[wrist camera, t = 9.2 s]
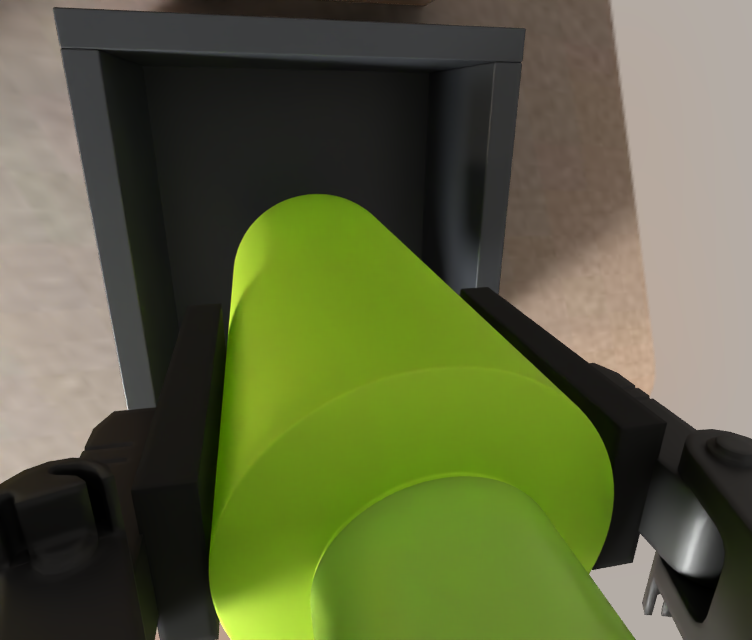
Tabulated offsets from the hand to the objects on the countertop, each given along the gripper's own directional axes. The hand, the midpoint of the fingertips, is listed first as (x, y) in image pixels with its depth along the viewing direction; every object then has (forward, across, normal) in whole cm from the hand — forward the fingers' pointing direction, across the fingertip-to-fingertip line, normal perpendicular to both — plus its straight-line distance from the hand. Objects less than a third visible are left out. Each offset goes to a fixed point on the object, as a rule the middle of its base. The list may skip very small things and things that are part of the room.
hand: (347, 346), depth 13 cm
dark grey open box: (+14, 0, 0) cm, 14 cm away
